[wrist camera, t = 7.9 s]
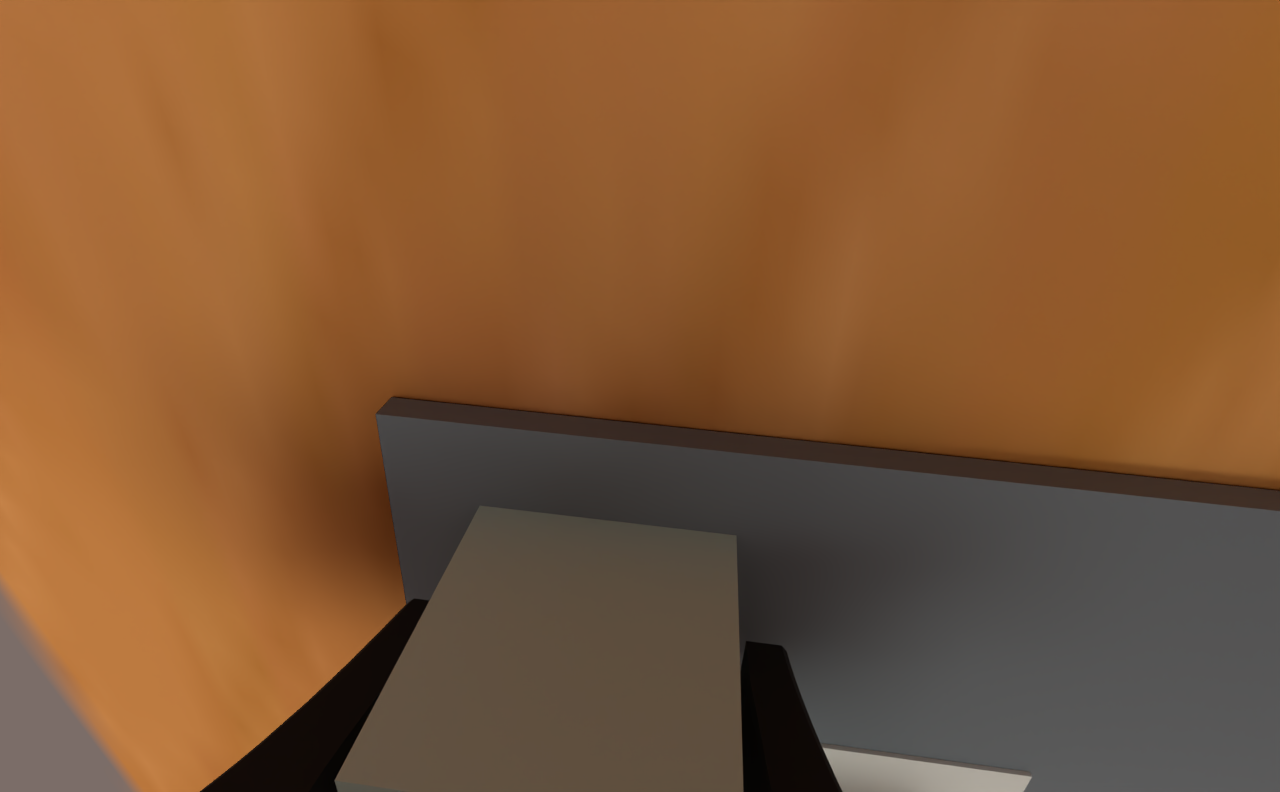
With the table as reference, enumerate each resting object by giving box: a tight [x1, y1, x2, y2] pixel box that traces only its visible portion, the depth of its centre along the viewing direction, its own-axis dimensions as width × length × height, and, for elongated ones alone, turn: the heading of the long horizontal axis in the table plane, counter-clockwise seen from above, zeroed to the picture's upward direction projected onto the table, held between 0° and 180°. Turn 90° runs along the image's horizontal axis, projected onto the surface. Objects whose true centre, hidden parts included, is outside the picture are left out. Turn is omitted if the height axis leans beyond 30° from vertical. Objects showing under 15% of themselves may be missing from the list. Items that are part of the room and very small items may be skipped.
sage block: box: [334, 506, 743, 792], centre depth 10 cm, size 5×5×5 cm
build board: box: [376, 397, 1280, 792], centre depth 14 cm, size 18×15×1 cm
